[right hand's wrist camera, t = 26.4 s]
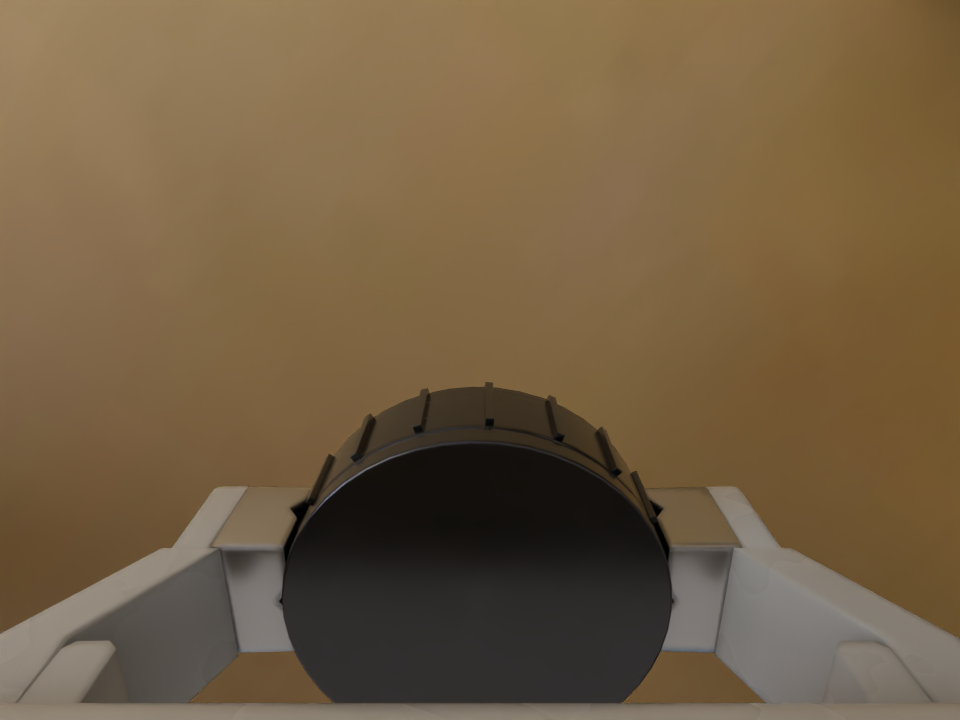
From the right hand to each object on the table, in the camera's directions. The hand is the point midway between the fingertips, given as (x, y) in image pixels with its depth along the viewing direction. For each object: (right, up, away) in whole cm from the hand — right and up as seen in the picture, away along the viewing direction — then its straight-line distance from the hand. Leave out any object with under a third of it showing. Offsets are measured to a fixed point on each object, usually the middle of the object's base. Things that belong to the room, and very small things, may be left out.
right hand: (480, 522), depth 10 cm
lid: (0, -1, -2) cm, 2 cm away
